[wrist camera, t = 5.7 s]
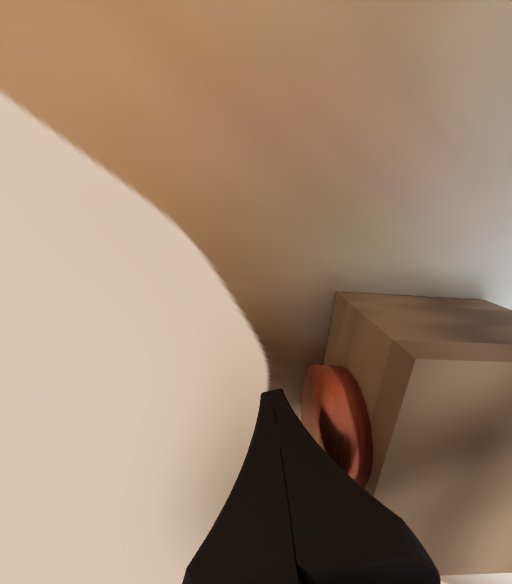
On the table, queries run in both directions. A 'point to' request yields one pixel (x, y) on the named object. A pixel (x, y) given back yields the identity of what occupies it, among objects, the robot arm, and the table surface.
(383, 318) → the block
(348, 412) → the pin
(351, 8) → the table surface
